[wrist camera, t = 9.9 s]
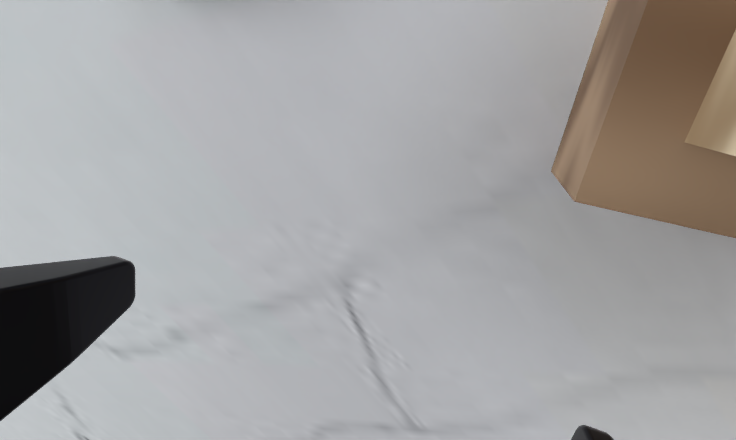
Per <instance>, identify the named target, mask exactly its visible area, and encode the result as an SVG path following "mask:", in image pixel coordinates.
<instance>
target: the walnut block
mask: <svg viewBox="0 0 736 440" xmlns="http://www.w3.org/2000/svg"><path fill="white" fill-rule="evenodd" d="M735 30H736V0H608V3H607V6H606V9H605V12H604V15H603V18H602V21H601V24H600V27H599V30H598V33H597V36H596V39H595V42H594V45H593V48H592V51H591V54H590V57H589V60H588V63H587V66H586V69H585V71H584V74H583V77H582V80H581V83H580V86H579V89H578V92H577V95H576V98H575V101H574V104H573V107H572V110H571V113H570V116H569V119H568V122H567V125H566V128H565V131H564V134H563V137H562V140H561V143H560V146H559V149H558V152H557V155H556V158H555V161H554V164H553V167H552V170H551V172H552V173H553V174H554V176H555V177H556V178H557V180H558V181H559V182H560V183H561V185H562V186H563V187H564V189H565V190H566V191H567V193H568V194H569V195H570V196H571V198H572V199H573V200H574V202H579V203H583V204H588V205H592V206H596V207H601V208H605V209H610V210H614V211H618V212H623V213H627V214H632V215H636V216H640V217H645V218H649V219H654V220H658V221H662V222H667V223H671V224H676V225H680V226H684V227H689V228H693V229H698V230H702V231H706V232H711V233H715V234H720V235H724V236H728V237H733V238H736V156H733V155H729V154H725V153H722V152H718V151H714V150H710V149H707V148H703V147H699V146H696V145H692V144H688V143H684V142H685V140H686V138H687V135H688V133H689V131H690V129H691V127H692V124H693V122H694V120H695V118H696V116H697V113H698V111H699V109H700V107H701V105H702V102H703V100H704V98H705V96H706V94H707V91H708V89H709V87H710V85H711V83H712V80H713V78H714V76H715V74H716V72H717V69H718V67H719V65H720V63H721V61H722V58H723V56H724V54H725V52H726V50H727V47H728V45H729V43H730V41H731V39H732V36H733V34H734V32H735Z"/></svg>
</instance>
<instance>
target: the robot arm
mask: <svg viewBox="0 0 736 440" xmlns="http://www.w3.org/2000/svg"><path fill="white" fill-rule="evenodd" d="M134 298H135V267H134V265H133V263H132V262H130V261H128V260H125V259H122V258H119V257H115V256H110V257H100V258H91V259H81V260H71V261H62V262H52V263H43V264H33V265H23V266H14V267H4V268H0V421H1V420H2V419H4V418H5V417H6V416H7V415H9V414H10V413H11V412H12V411H13V410H15V409H16V408H17V407H18V406H20V405H21V404H22V403H23V402H24V401H26V400H27V399H28V398H29V397H31V396H32V395H33V394H34V393H35V392H37V391H38V390H39V389H40V388H42V387H43V386H44V385H45V384H47V383H48V382H49V381H50V380H51V379H53V378H54V377H55V376H56V375H58V374H59V373H60V372H61V371H62V370H64V369H65V368H66V367H67V366H68V365H69V364H71V363H72V362H73V361H74V360H75V359H76V358H77V357H78V356H79V355H80V354H82V353H83V352H84V351H85V350H86V349H87V348H88V347H89V346H90V345H91V344H92V343H93V342H94V341H95V340H96V339H97V338H98V337H99V336H100V335H101V334H102V333H103V332H104V331H105V330H107V329H108V328H109V327H110V326H111V325H112V324H113V323H114V322H115V321H116V320H117V319H118V318H119V317H120V316H121V315H122V314H123V313H124V312H125V311H126V310H127V309H128V308H129V307H130V306H131V305H132V303H133V301H134ZM571 440H614V439H613V438H612V437H611V436H610V435H609V434H607V433H606V432H603V431H600V430H598V429H595V428H592V427H589V426H586V425H581V426H579V427H578V428H577V430H576V431H575V433H574V435H573V437H572V439H571Z"/></svg>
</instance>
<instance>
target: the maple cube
mask: <svg viewBox="0 0 736 440" xmlns="http://www.w3.org/2000/svg"><path fill="white" fill-rule="evenodd" d="M684 143H688V144H692V145H696V146H699V147H703V148H707V149H710V150H714V151H718V152H722V153H725V154H729V155H733V156H736V30H735V32H734V34H733V36H732V39H731V41H730V43H729V45H728V47H727V50H726V52H725V54H724V56H723V58H722V61H721V63H720V65H719V67H718V69H717V72H716V74H715V76H714V78H713V80H712V83H711V85H710V87H709V89H708V91H707V94H706V96H705V98H704V100H703V102H702V105H701V107H700V109H699V111H698V113H697V116H696V118H695V120H694V122H693V124H692V127H691V129H690V131H689V133H688V135H687V138H686V140H685V142H684Z"/></svg>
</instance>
